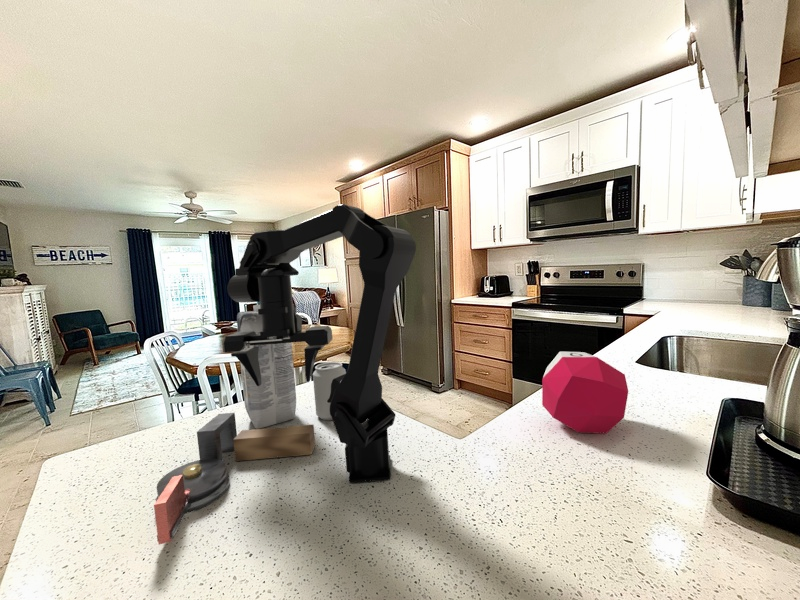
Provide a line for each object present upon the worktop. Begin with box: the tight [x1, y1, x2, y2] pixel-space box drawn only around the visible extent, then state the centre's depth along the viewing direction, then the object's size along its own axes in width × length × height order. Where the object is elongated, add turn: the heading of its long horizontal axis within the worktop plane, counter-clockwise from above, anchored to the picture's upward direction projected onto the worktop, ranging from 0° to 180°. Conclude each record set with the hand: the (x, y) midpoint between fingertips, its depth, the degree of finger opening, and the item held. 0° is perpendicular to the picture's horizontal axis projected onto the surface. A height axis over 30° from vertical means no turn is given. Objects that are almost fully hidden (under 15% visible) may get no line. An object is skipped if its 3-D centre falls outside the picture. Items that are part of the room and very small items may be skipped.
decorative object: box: [541, 351, 629, 435], centre depth 64 cm, size 15×15×15 cm
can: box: [312, 361, 347, 421], centre depth 77 cm, size 8×8×12 cm
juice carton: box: [236, 304, 297, 429], centre depth 76 cm, size 9×10×27 cm
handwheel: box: [153, 458, 228, 545], centre depth 47 cm, size 16×9×5 cm, turn 17°
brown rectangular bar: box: [233, 424, 316, 462], centre depth 61 cm, size 14×4×4 cm, turn 93°
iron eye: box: [196, 412, 238, 461], centre depth 60 cm, size 3×8×7 cm, turn 2°
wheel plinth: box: [155, 471, 231, 515], centre depth 51 cm, size 10×10×1 cm
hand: (283, 383), depth 62 cm, fingers open, 9 cm apart
